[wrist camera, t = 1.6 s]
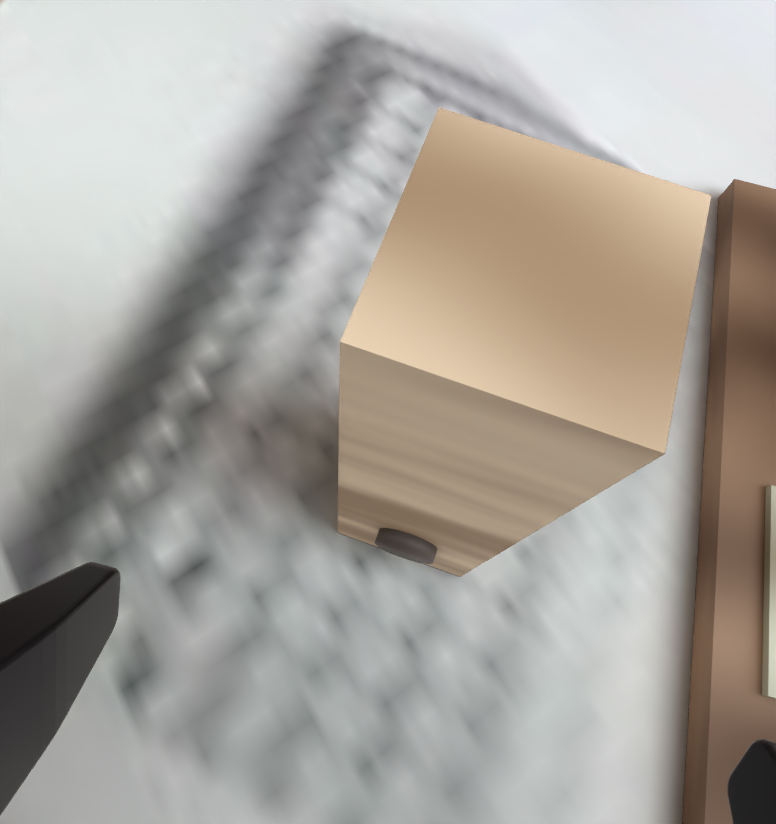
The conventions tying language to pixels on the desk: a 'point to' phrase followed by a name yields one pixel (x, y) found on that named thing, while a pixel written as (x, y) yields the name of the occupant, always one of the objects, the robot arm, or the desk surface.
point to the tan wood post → (510, 343)
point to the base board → (736, 511)
